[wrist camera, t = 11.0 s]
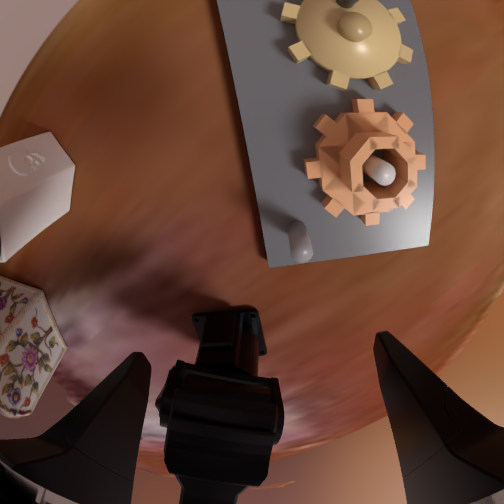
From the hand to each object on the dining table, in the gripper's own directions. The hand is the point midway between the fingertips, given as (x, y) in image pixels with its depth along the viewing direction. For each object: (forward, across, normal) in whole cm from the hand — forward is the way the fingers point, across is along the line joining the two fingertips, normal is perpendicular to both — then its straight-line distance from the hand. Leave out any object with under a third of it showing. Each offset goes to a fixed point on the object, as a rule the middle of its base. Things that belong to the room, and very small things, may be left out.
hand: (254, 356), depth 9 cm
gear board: (+13, -7, -7) cm, 16 cm away
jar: (+13, +19, -8) cm, 24 cm away
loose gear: (+12, -8, -4) cm, 15 cm away
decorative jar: (+13, +35, +8) cm, 38 cm away
